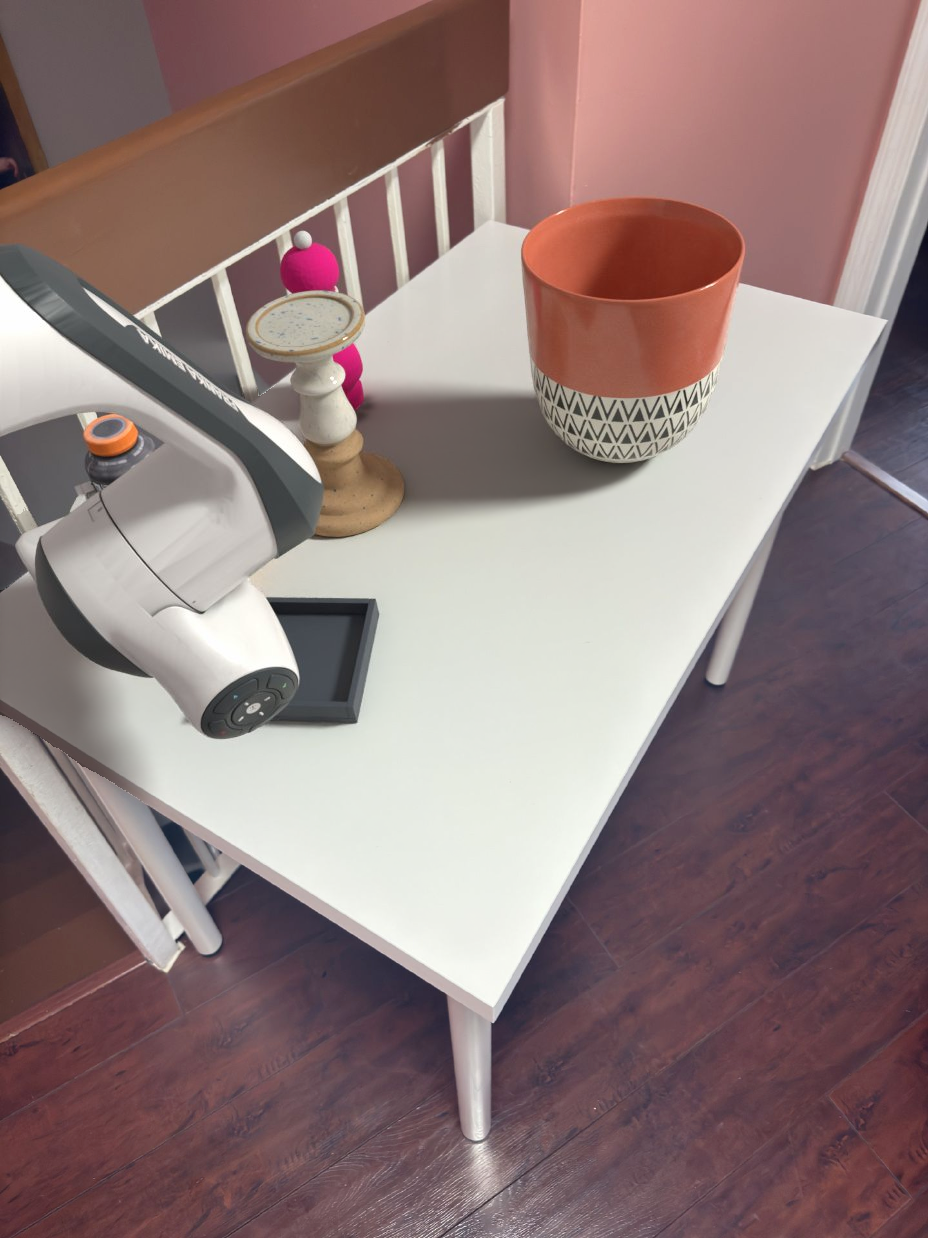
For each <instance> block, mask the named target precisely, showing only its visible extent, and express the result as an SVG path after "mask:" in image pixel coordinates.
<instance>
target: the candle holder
mask: <svg viewBox="0 0 928 1238" xmlns="http://www.w3.org/2000/svg"><path fill="white" fill-rule="evenodd" d="M365 326H366V315H365V311H364V308H363V306H362V304H361V303H360V302H359V301H358V300H356V299H355V298H354V297H352V296H350V295H348V294H346V293H342V292H339V291H338V292H333V291H323V290H316V291H304V292H298V293H293V294H292V293H290V294H286V295H283V296H281V297H278V298H275V299H273V300H271V301H269V302H268V303H266V304H264V305H263V306H260V308H258V309H257V310H256V311H255V312H254V313H253V314H252V315H251V316H250V317H249V319H248V320H247V323H246V326H245V337H246V340H247V343H248V345H249V346H250V348H251V349H252V350H253V351H254V352H255V353H256V354H258V355H259V356H261V357H263V358H265V359H268V360H271V361H274V362H281V363H294V364H295V370H294V371H293V372H292V374H291V376H290V386H291V388H292V389H293V390H294V391H295V392H297V393H298V394H299V397H300V399H299V400H300V410H299V418H298V419H299V420H298V426H299V430H300V432H301V434H302V435H303V437H304V438H305V440H304V442H303V446H304V447H305V449H306V450H307V451H308V453H309V454H310V456H311V458H312V459H313V461H314V463H315V465H316V467H317V469H318V472H319V475H320V478H321V480H322V482H323V484H324V493H323V501H322V507H321V512H320V516H319V520H318V524H317V527H316V530H315V533H314V535H317V536H322V537H330V538H340V537H342V538H343V537H349V536H354V535H358V534H362V533H366V532H367V531H370V530H372V529H375V528H377V527H379V526H380V525H382V524H383V523H386V521H387V520H389V519H390V518H391V517H392V516H393V515H394V514H395V513H396V512H397V510H398V509H399V508H400V506H401V503H402V501H403V499H404V495H405V481H404V478H403V475H402V473H401V471H400V470H399V468H398V467H397V466H396V465H395V464H394V463H393V462H392V461H390V459H388V458H386V457H384V456H383V455H382V456H381V455H379V454H376V453H373V452H368V451H362V449H363V446H364V438H363V435H362V433H361V432H360V431H359V430H358V428H356V426H357V423H358V418H357V417H358V416H357V414H356V413H357V412H356V410H355V411H354V409H353V407H352V406H351V404H350V403H349V401H348V399H347V398H346V396H345V393H344V391H343V389H342V386H341V385H342V383H343V382H344V379H345V371H344V369H343V367H342V366H341V365H339V364H338V363H336V362H334V360H333V354H335V353H338V352H340V351H342V350H343V349H345V348H347V347H348V346H350V345H351V344H352V343H354V344H355V342H356V341H357V340H358V339H359V337H360V336H361V335H362V333H363V331H364V328H365Z"/></svg>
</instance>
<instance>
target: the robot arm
mask: <svg viewBox="0 0 928 1238" xmlns="http://www.w3.org/2000/svg"><path fill="white" fill-rule="evenodd" d="M87 413H107V414H117V415H120V416H122V417H124V418H126V419H128V420H129V421H131V422H133V424H134V425H136V426H137V427H139V428H141V430H144V431H145V432H147V433H148V434H150V435H151V436H154V437H155V438H156V439H158V440H160V441H161V442H163V443H162V444H161V445H160V446H159V447H157V449H156V450H155V451H154V452H152V453H151V454H150V455H148V456H147V457H146V458H144V459H143V460H142V461H140V462H139V463H138V464H136V465H135V466H134V467H132V468H131V469H130V470H128V471H127V472H126V473H124V474H123V475H122V476H120V477H119V478H118V479H116V480H115V481H114V482H113V483H111V484H110V485H109V486H107V487H106V488H105V489H103V490H100V491H98V492H97V491H96V489H95V487H94V486H93V484H92V482H91V480H89V481H85V482H83V483H80V484H77V485H75V486H74V489H75V492H76V494H77V496H76V498H75V500H74V502H73V503H72V506H71V508H70V510H69V513H68V514H67V515H65V516H62V517H60V518H57V519H55V520H52V521H50V522H47V523H45V524H43V525H40V526H37V527H35V528H32V529H30V530H27V531H24V532H23V533H22V534H21V535H20V536H19V538H18V539H17V541H16V542H15V544H14V546H15V550H16V552H17V554H18V556H19V558H20V560H21V562H22V563H23V565H24V567H25V568H26V570H27V572H28V573H29V575H30V577H31V578H32V580H33V581H34V583H35V585H36V587H37V588H36V589H37V591H38V595H39V598H40V600H41V602H42V604H43V606H44V609H45V610H46V612H47V615H48V616H49V617H50V620H51V621H52V623H53V624H54V626H55V627H56V629H57V630H58V632H59V633H60V634H61V636H62V637H63V638H64V639H65V640H66V641H67V642H68V643H69V644H70V646H72V647H73V648H74V649H75V650H76V651H77V652H78V653H80V654H81V655H82V656H83V657H85V658H86V659H87V660H90V661H91V662H93V663H95V664H96V665H98V666H100V667H102V668H105V669H108V670H110V671H113V672H118V673H122V674H125V675H130V676H133V677H139V678H145V679H155V680H156V681H157V682H158V683H159V685H160V686H161V687H162V688H163V689H164V690H165V692H166V693H167V694H168V695H169V696H170V698H171V699H172V700H173V701H174V703H175V704H176V706H177V707H178V708H179V710H180V711H181V712H182V714H183V715H184V717H185V718H186V720H187V721H188V722H189V723H190V725H191V726H192V727H193V728H194V729H195V730H196V731H197V732H199V734H201V735H203V736H205V737H206V738H209V739H213V740H229V739H235V738H238V737H242V736H244V735H247V734H250V733H252V732H254V731H256V730H257V729H259V728H260V727H262V726H263V725H265V724H266V723H268V722H269V721H271V720H270V719H272V718H273V717H274V716H275V715H277V714H278V713H279V712H280V711H281V710H283V709H284V708H285V707H286V706H287V705H288V704H289V702H290V701H291V700H292V698H293V697H294V695H295V693H296V691H297V689H298V685H299V671H298V667H297V663H296V660H295V657H294V654H293V651H292V649H291V646H290V644H289V641H288V639H287V637H286V635H285V632H284V630H283V628H282V626H281V624H280V622H279V620H278V618H277V616H276V615H275V613H274V611H273V609H272V607H271V606H270V604H269V602H268V601H267V599H266V597H267V596H265V595H264V593H263V592H262V590H260V588H259V587H258V586H257V585H255V584H254V583H252V582H251V579H250V577H252V576H253V575H254V574H256V573H257V572H258V571H259V570H261V569H263V567H265V566H266V565H267V564H269V563H270V562H271V561H273V560H277V559H279V558H280V557H282V556H284V555H285V554H286V553H288V552H290V551H291V550H293V549H294V548H296V547H298V546H299V545H301V544H302V543H304V542H306V541H307V540H309V539H310V538H312V537H314V536H315V534H314V533H315V530H316V527H317V524H318V520H319V516H320V512H321V507H322V501H323V493H324V484H323V482H322V480H321V478H320V475H319V472H318V469H317V467H316V465H315V463H314V461H313V459H312V458H311V456H310V454H309V453H308V451H307V450H306V449H305V447H304V444H303V443H302V442H301V440H299V439H298V437H297V436H296V435H295V434H294V433H293V432H292V431H291V430H290V429H289V428H288V427H287V426H286V425H285V424H284V423H282V421H280V420H278V419H277V418H275V417H274V416H273V415H271V414H270V413H268V412H266V411H265V410H262V409H260V408H259V407H257V405H255V404H254V403H252V401H249V400H248V399H246V398H245V397H243V396H241V395H239V394H237V393H236V392H234V391H233V390H231V389H230V388H229V387H227V386H225V385H224V384H223V383H221V382H220V381H219V380H217V379H216V378H215V377H214V376H212V375H211V374H210V373H208V372H207V371H205V370H204V368H201V366H199V365H198V364H196V363H195V362H194V361H193V360H191V358H189V357H188V356H186V355H185V354H184V353H182V352H181V351H180V350H178V348H176V347H175V346H174V345H173V344H171V343H170V342H168V341H167V340H166V339H164V338H163V337H162V336H160V334H158V333H157V332H155V331H154V330H153V329H152V328H150V327H149V326H147V324H145V323H144V322H143V321H141V320H140V319H139V318H138V317H136V316H135V315H133V314H132V313H131V312H129V311H128V310H127V309H125V308H124V307H122V305H120V304H119V303H118V302H116V301H114V300H113V299H112V298H110V297H109V296H108V295H106V294H105V293H104V292H102V291H101V290H100V289H98V288H97V287H95V286H94V285H92V284H91V283H90V282H89V281H87V280H86V279H84V278H83V277H81V276H80V275H78V274H77V273H75V272H74V271H72V270H71V269H69V268H68V267H67V266H65V265H63V264H62V263H60V262H59V261H57V260H56V259H54V258H51V256H48V255H46V254H45V253H43V252H41V251H39V250H37V249H35V248H33V247H30V246H27V245H26V244H23V243H9V244H6V243H5V244H0V438H1V437H3V436H6V435H9V434H12V433H14V432H17V431H20V430H23V429H26V428H29V427H31V426H35V425H38V424H43V423H45V422H48V421H53V420H56V419H59V418H63V417H67V416H74V415H77V414H87Z"/></svg>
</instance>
